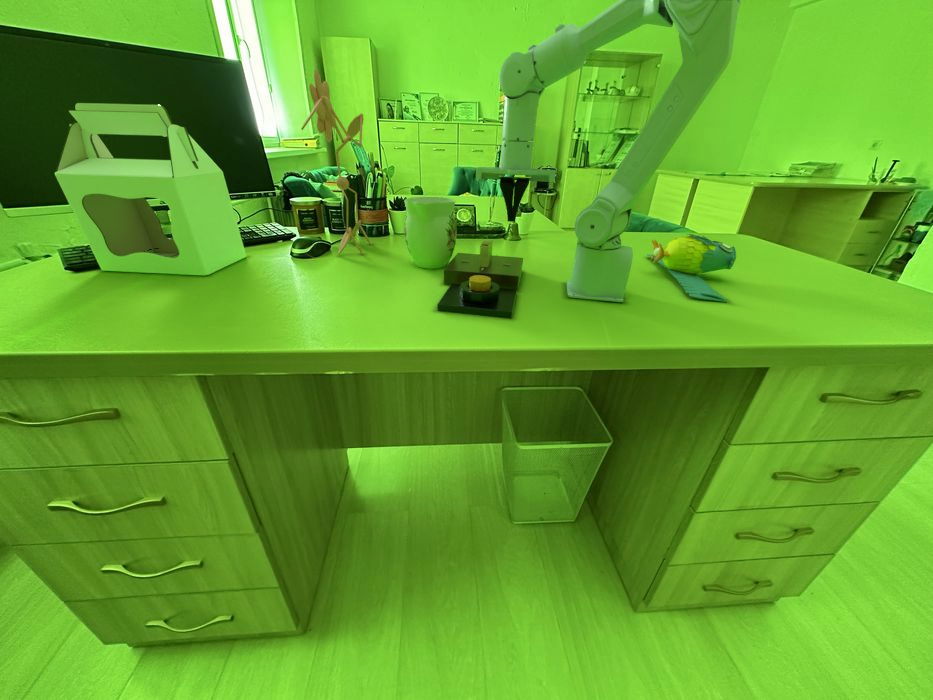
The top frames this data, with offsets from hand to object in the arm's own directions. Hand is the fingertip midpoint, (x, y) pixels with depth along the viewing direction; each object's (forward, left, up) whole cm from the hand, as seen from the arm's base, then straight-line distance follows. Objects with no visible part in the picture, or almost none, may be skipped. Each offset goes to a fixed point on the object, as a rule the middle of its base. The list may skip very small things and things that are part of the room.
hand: (511, 220), depth 72 cm
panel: (+4, +5, -10) cm, 12 cm away
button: (+3, +18, -8) cm, 20 cm away
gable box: (+68, +13, -11) cm, 70 cm away
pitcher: (+17, -2, -11) cm, 20 cm away
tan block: (+4, +5, -7) cm, 10 cm away
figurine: (+42, -7, -11) cm, 44 cm away
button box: (+3, +18, -10) cm, 21 cm away
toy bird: (-37, -7, -11) cm, 39 cm away
